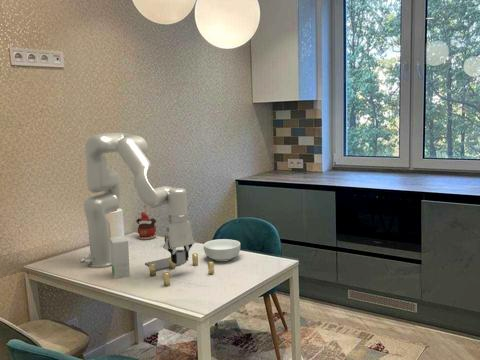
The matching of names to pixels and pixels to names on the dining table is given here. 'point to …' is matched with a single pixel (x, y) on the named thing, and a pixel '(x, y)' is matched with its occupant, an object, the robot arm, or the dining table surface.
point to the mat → (161, 264)
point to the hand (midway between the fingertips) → (180, 260)
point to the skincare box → (120, 256)
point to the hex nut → (180, 257)
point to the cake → (146, 226)
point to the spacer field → (172, 266)
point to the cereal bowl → (222, 249)
